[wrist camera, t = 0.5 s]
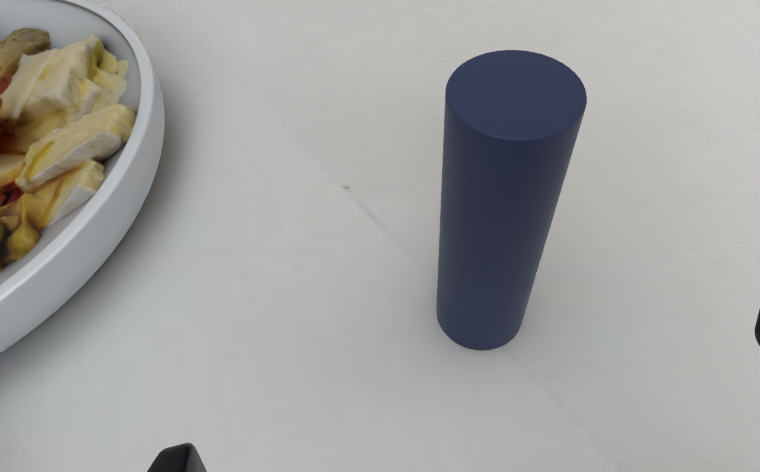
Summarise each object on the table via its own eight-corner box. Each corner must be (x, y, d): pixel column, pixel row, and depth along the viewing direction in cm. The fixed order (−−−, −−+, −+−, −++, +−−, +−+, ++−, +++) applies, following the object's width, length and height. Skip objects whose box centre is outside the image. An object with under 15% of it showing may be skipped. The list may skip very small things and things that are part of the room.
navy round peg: (538, 331, 26) (616, 113, 16) (459, 363, 25) (486, 157, 15) (496, 265, 28) (539, 36, 18) (422, 292, 28) (423, 71, 17)
